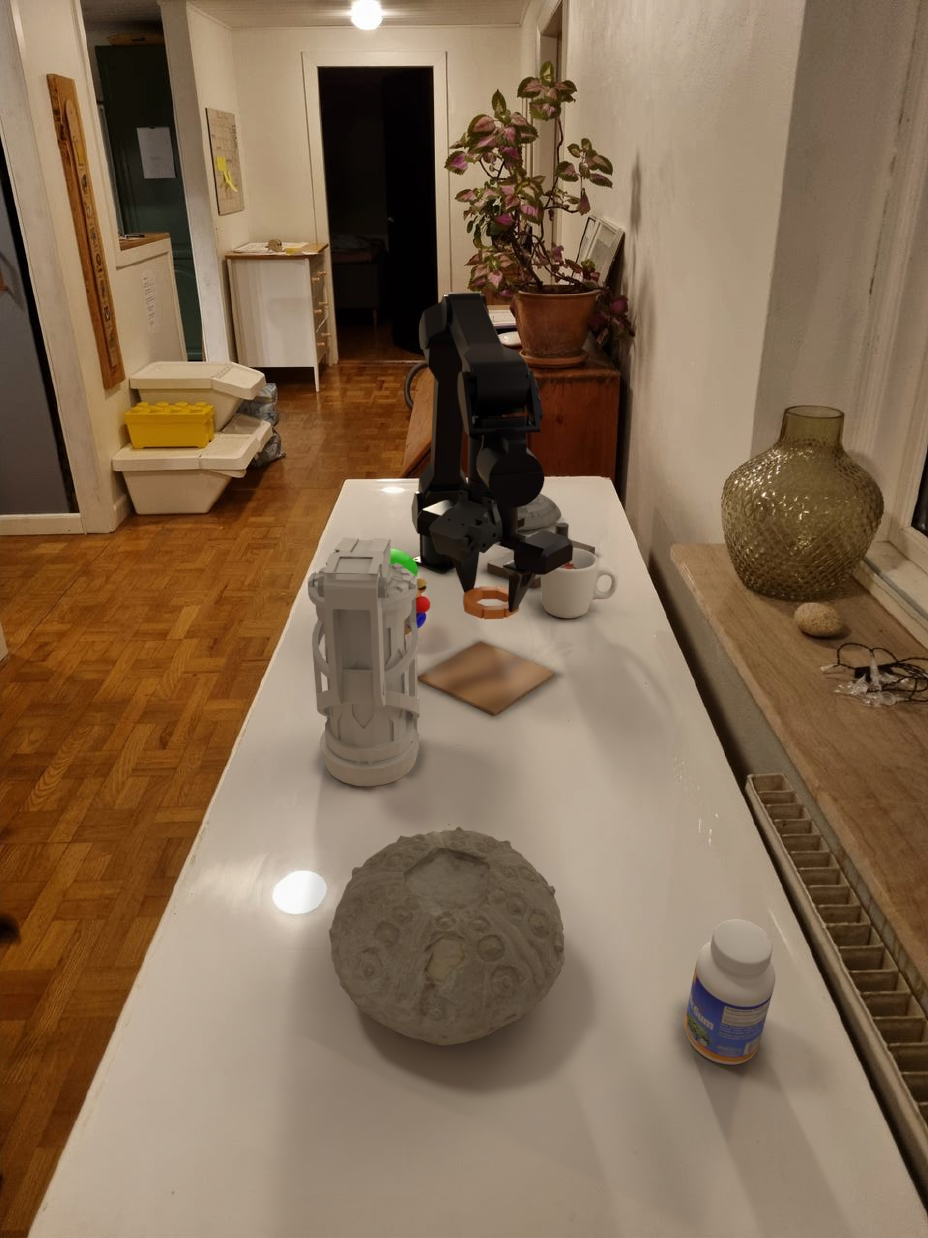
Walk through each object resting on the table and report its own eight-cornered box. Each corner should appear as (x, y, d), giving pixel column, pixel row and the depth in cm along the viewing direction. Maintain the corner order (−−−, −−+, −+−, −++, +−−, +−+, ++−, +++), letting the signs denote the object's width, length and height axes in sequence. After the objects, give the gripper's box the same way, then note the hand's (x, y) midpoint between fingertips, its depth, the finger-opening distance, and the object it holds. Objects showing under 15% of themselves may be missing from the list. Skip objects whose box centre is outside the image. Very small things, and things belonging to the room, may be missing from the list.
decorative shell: (597, 1041, 67) (608, 941, 62) (356, 1104, 63) (349, 1002, 58) (516, 874, 82) (520, 784, 78) (317, 915, 78) (309, 822, 73)
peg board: (486, 571, 140) (487, 541, 137) (548, 541, 151) (550, 512, 148) (534, 588, 135) (536, 557, 132) (594, 555, 145) (597, 526, 143)
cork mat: (417, 679, 112) (417, 676, 112) (480, 643, 120) (480, 640, 120) (494, 715, 105) (494, 712, 105) (555, 675, 113) (555, 672, 113)
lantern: (329, 729, 102) (315, 518, 91) (423, 731, 102) (420, 520, 90) (308, 803, 91) (289, 573, 79) (414, 806, 90) (409, 576, 79)
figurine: (335, 642, 120) (330, 558, 114) (374, 613, 127) (371, 532, 122) (410, 663, 115) (409, 576, 109) (447, 631, 123) (447, 548, 117)
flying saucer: (546, 542, 150) (548, 510, 148) (461, 529, 155) (461, 498, 152) (570, 511, 163) (572, 482, 160) (490, 500, 167) (491, 471, 165)
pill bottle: (675, 1006, 70) (691, 912, 65) (744, 1002, 70) (764, 908, 66) (697, 1070, 65) (716, 973, 61) (771, 1065, 66) (795, 968, 61)
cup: (613, 600, 131) (618, 549, 128) (615, 626, 124) (621, 572, 121) (537, 596, 132) (540, 545, 129) (536, 622, 125) (539, 568, 122)
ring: (452, 607, 108) (452, 598, 108) (486, 590, 113) (487, 581, 112) (495, 624, 105) (495, 615, 104) (528, 605, 109) (529, 596, 108)
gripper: (381, 474, 101) (385, 602, 108) (516, 515, 90) (511, 654, 98) (448, 452, 109) (448, 572, 116) (580, 487, 98) (570, 617, 105)
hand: (490, 602), depth 108 cm, fingers closed on ring, 6 cm apart
